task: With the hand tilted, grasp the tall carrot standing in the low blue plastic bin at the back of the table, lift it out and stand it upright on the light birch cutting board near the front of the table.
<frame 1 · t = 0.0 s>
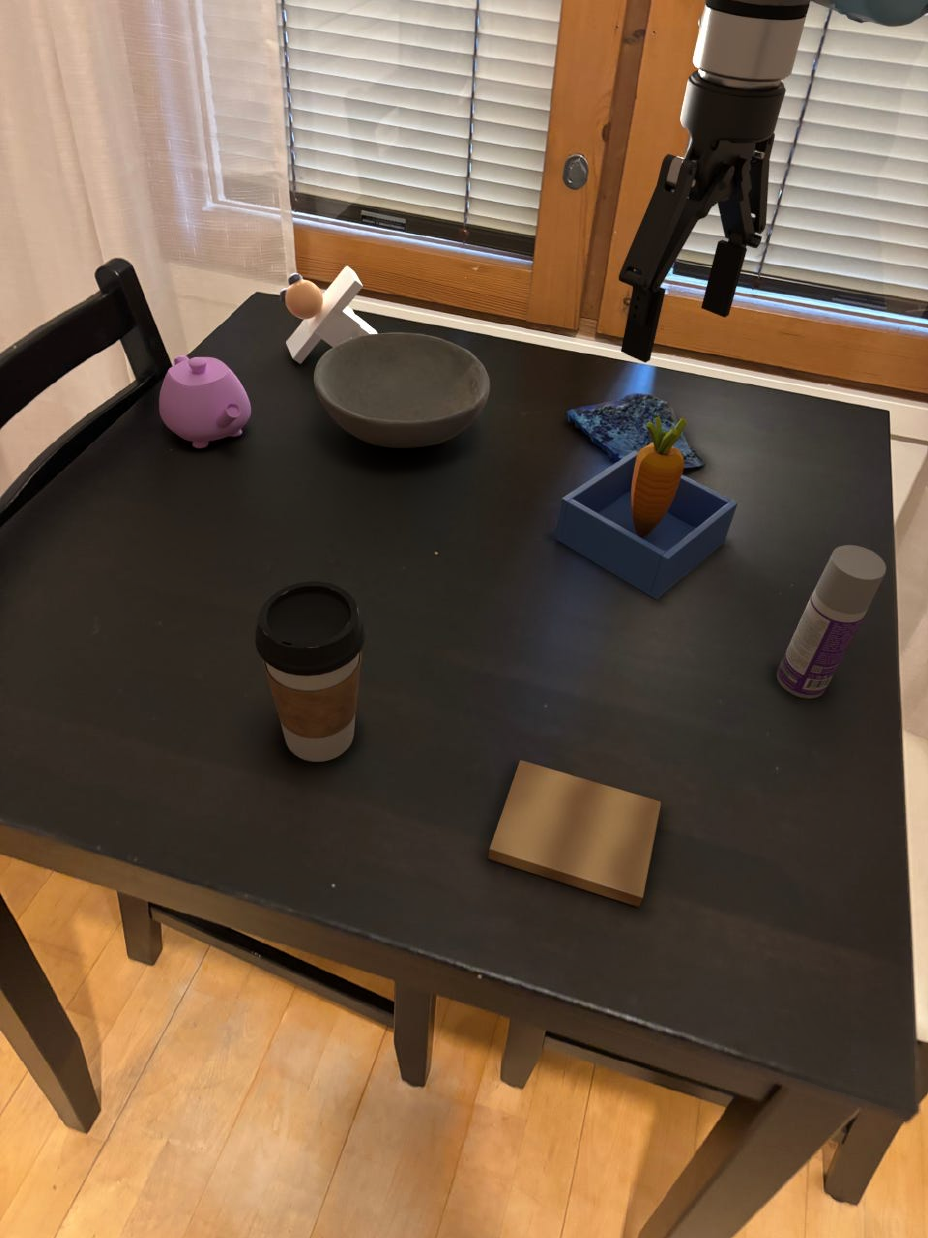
hand: (676, 333, 83), 24 cm above the table, tool pointing down, fingers open, 13 cm apart
container: (800, 681, 85), on the table
carrot: (640, 538, 98), resting in bin
teapot: (212, 434, 109), on the table
figurine: (334, 351, 125), on the table
board: (575, 834, 71), on the table
blue flat piece: (638, 440, 113), on the table
bin: (640, 540, 98), on the table
bowl: (402, 430, 112), on the table
coffee cup: (319, 736, 77), on the table
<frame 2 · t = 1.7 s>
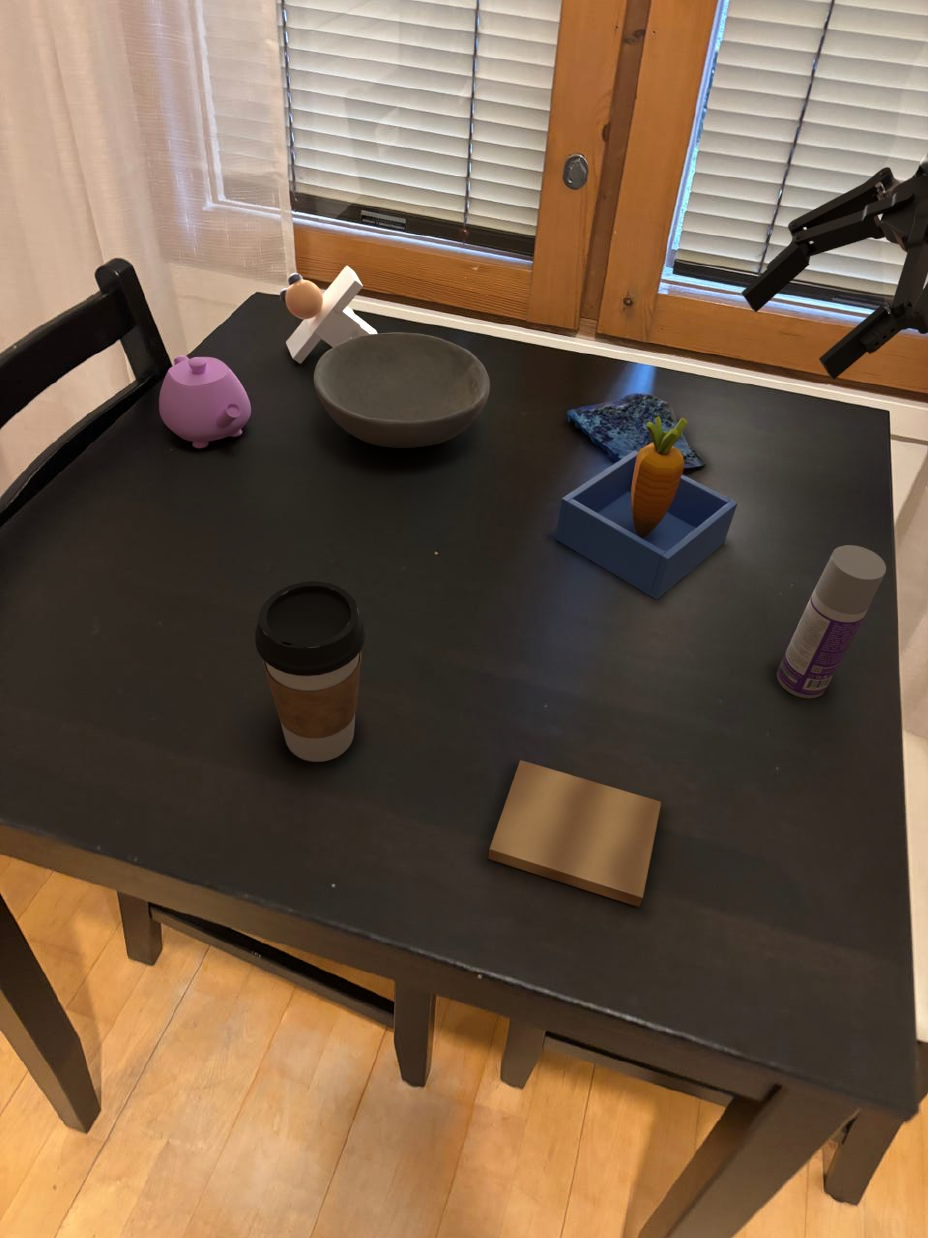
hand: (784, 334, 84), 24 cm above the table, tool tilted 45°, fingers open, 13 cm apart
nothing on the table moved.
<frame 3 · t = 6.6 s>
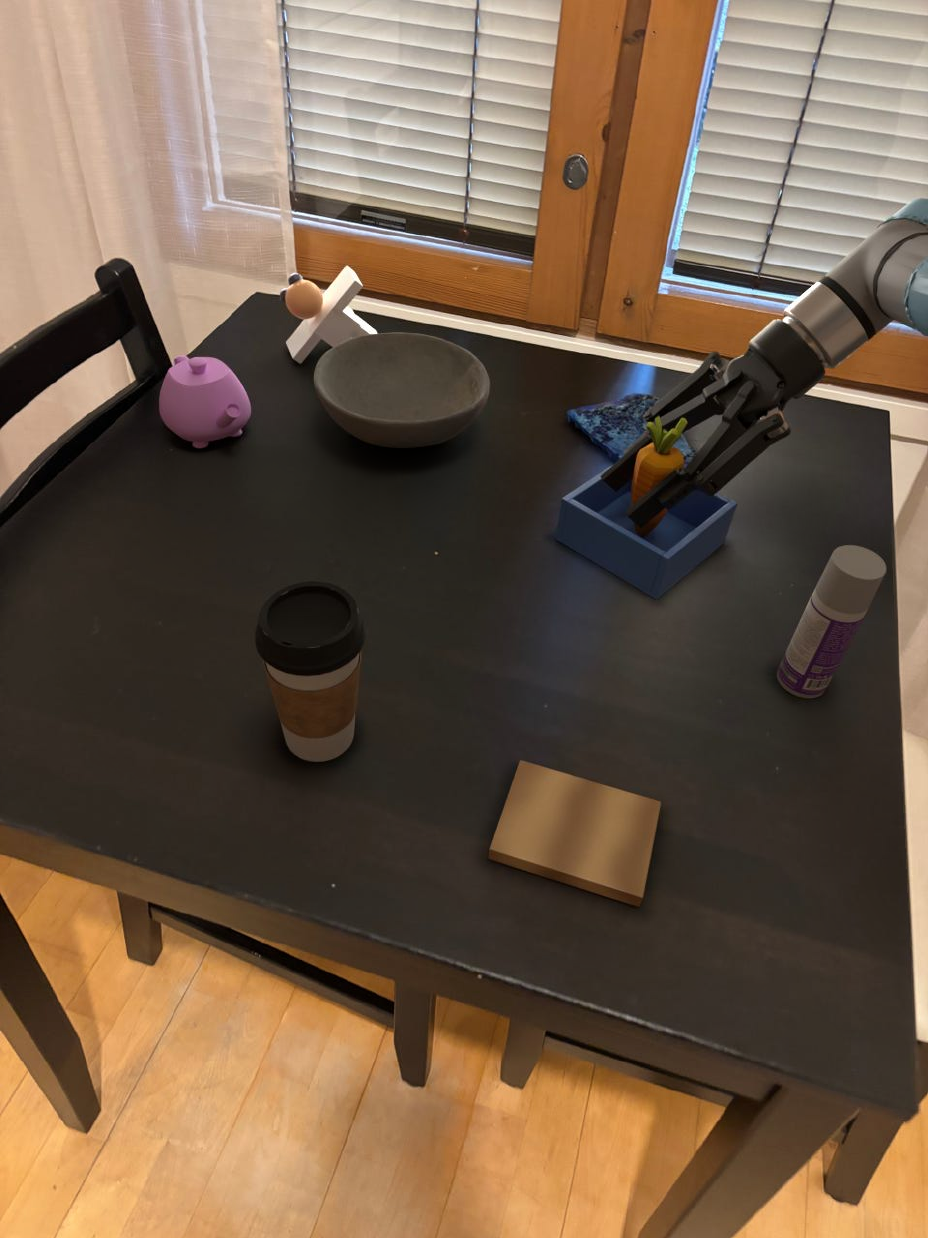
hand: (620, 501, 93), 6 cm above the table, tool tilted 45°, fingers open, 6 cm apart
nothing on the table moved.
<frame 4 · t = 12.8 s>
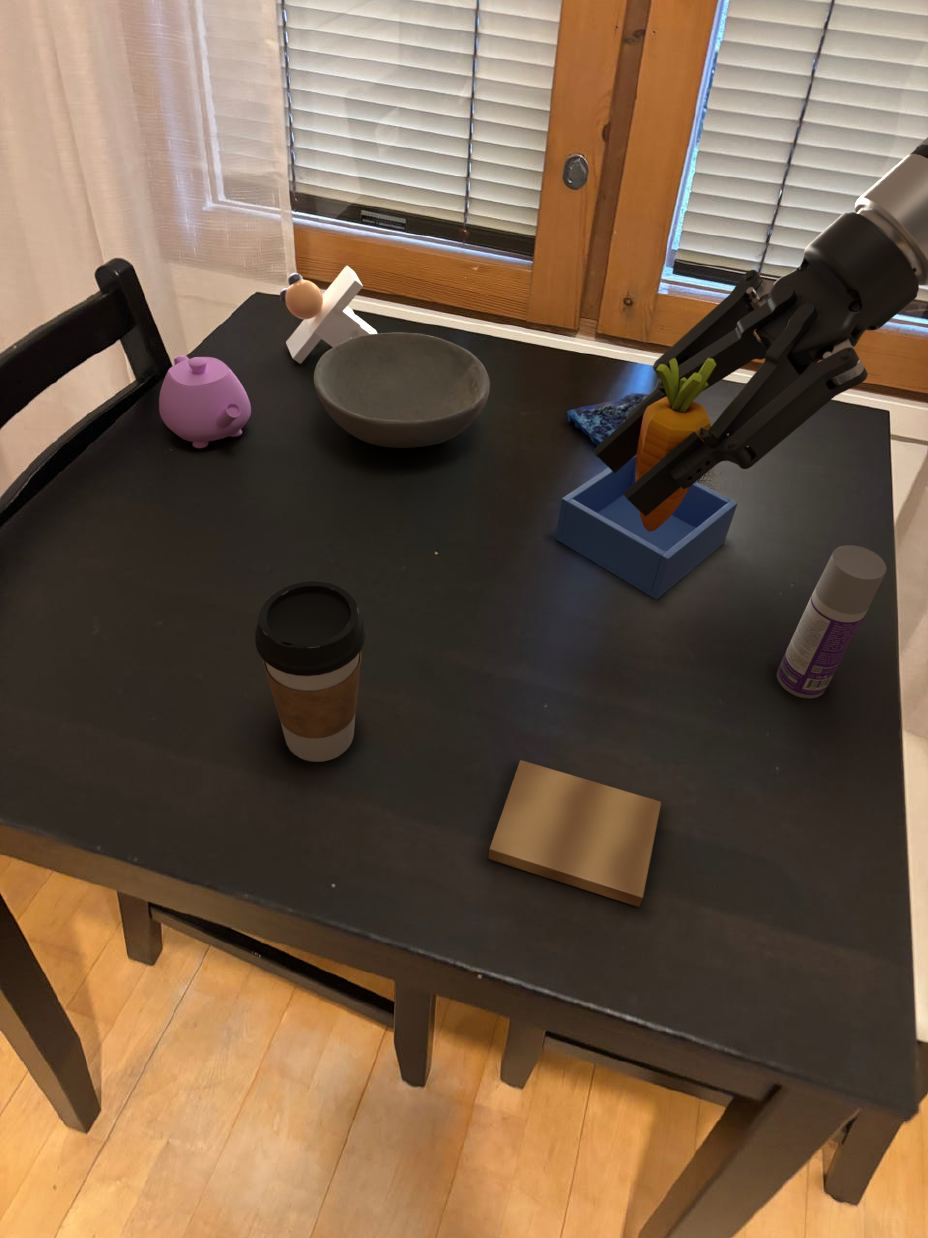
hand: (619, 482, 67), 23 cm above the table, tool tilted 45°, fingers closed on carrot, 5 cm apart
carrot: (648, 532, 71), point 17 cm above the table, touching gripper
everything else where it was.
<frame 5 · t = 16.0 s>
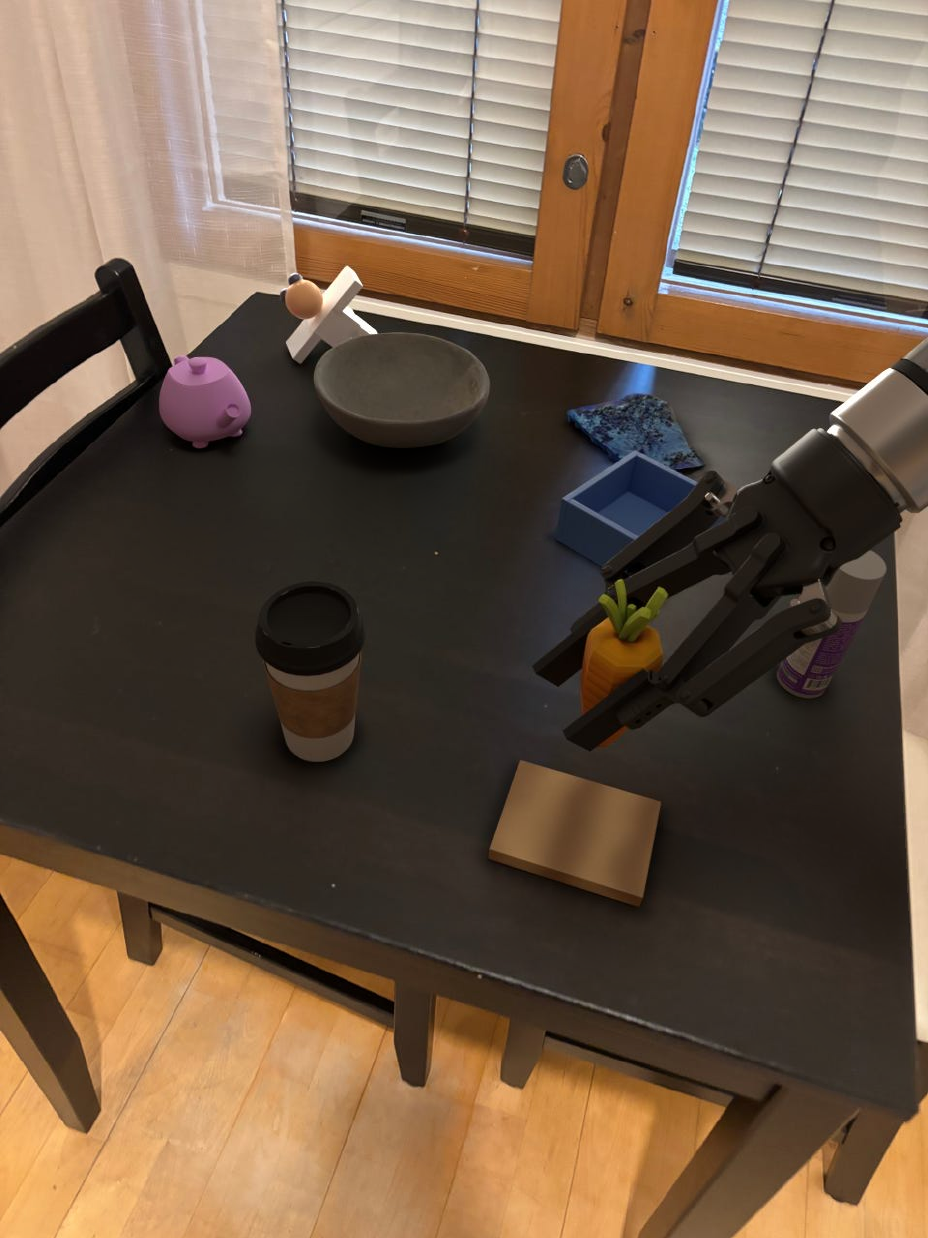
hand: (560, 707, 58), 17 cm above the table, tool tilted 45°, fingers closed on carrot, 5 cm apart
carrot: (598, 746, 63), point 12 cm above the table, touching gripper
everything else where it was.
when the fingers open (7 cm above the table, at t = 18.6 s): carrot stays where it is, resting on board.
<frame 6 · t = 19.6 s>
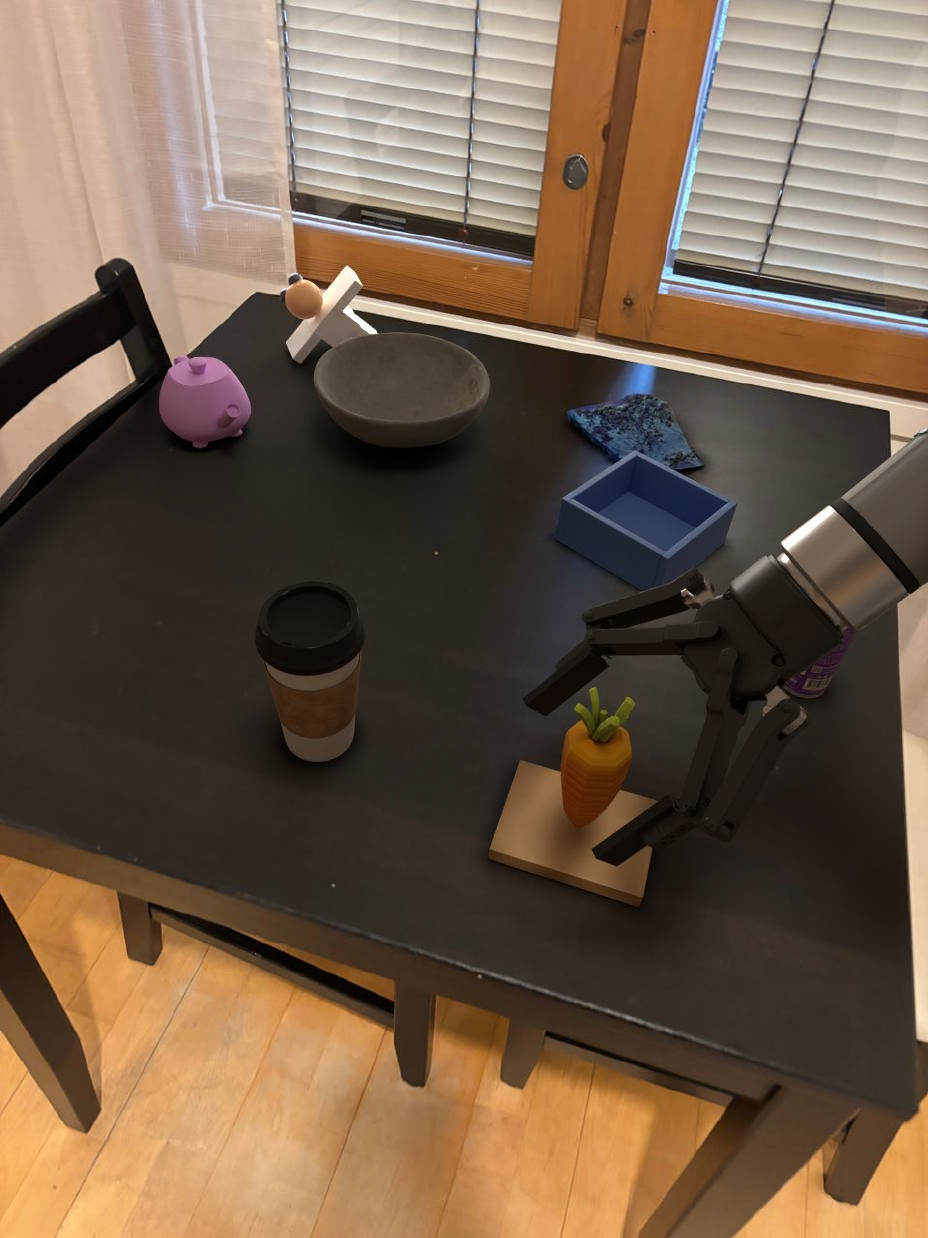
hand: (566, 777, 64), 9 cm above the table, tool tilted 45°, fingers open, 13 cm apart
carrot: (577, 825, 70), point 1 cm above the table, touching board
everything else where it was.
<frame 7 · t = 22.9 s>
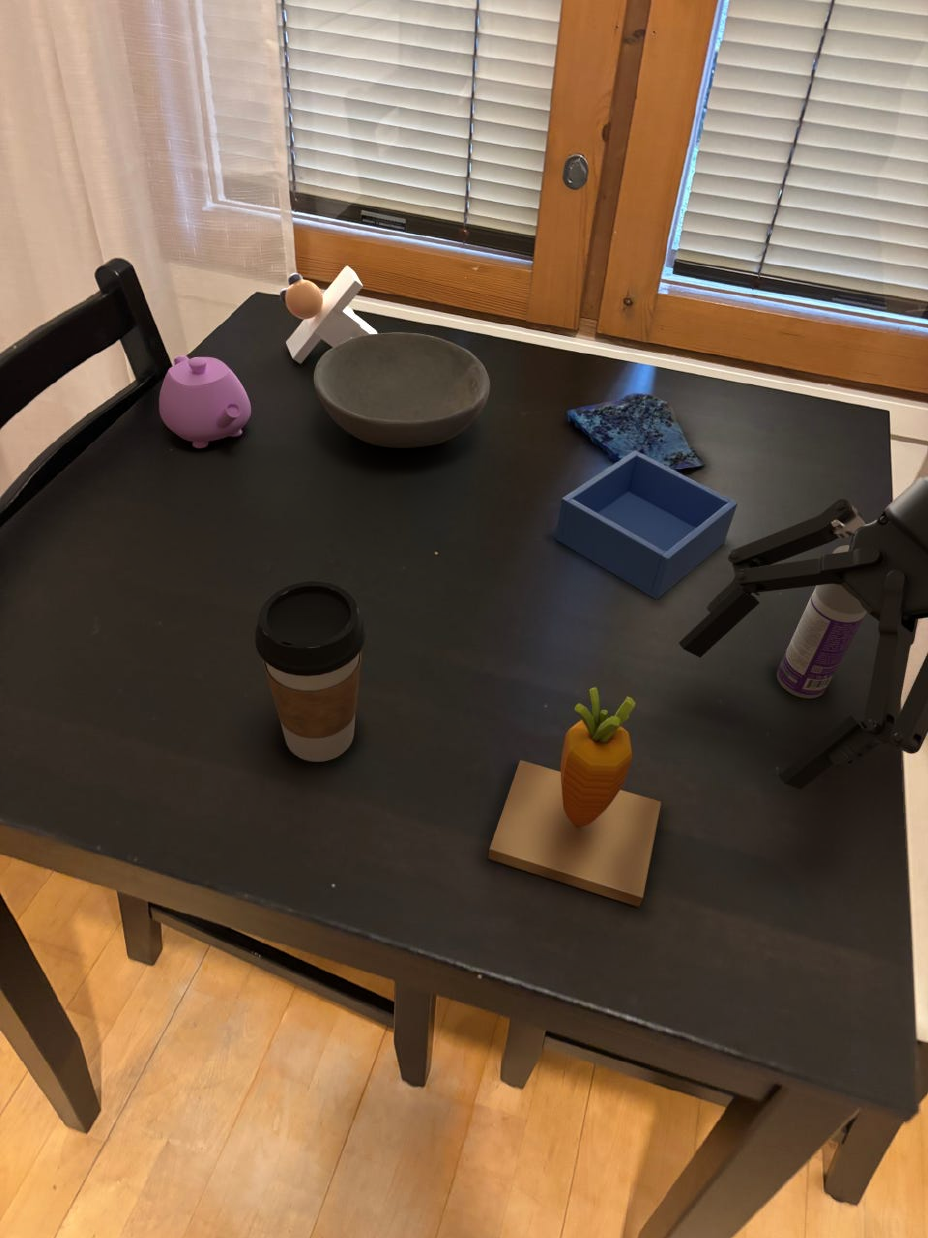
hand: (735, 712, 67), 11 cm above the table, tool tilted 40°, fingers open, 13 cm apart
nothing on the table moved.
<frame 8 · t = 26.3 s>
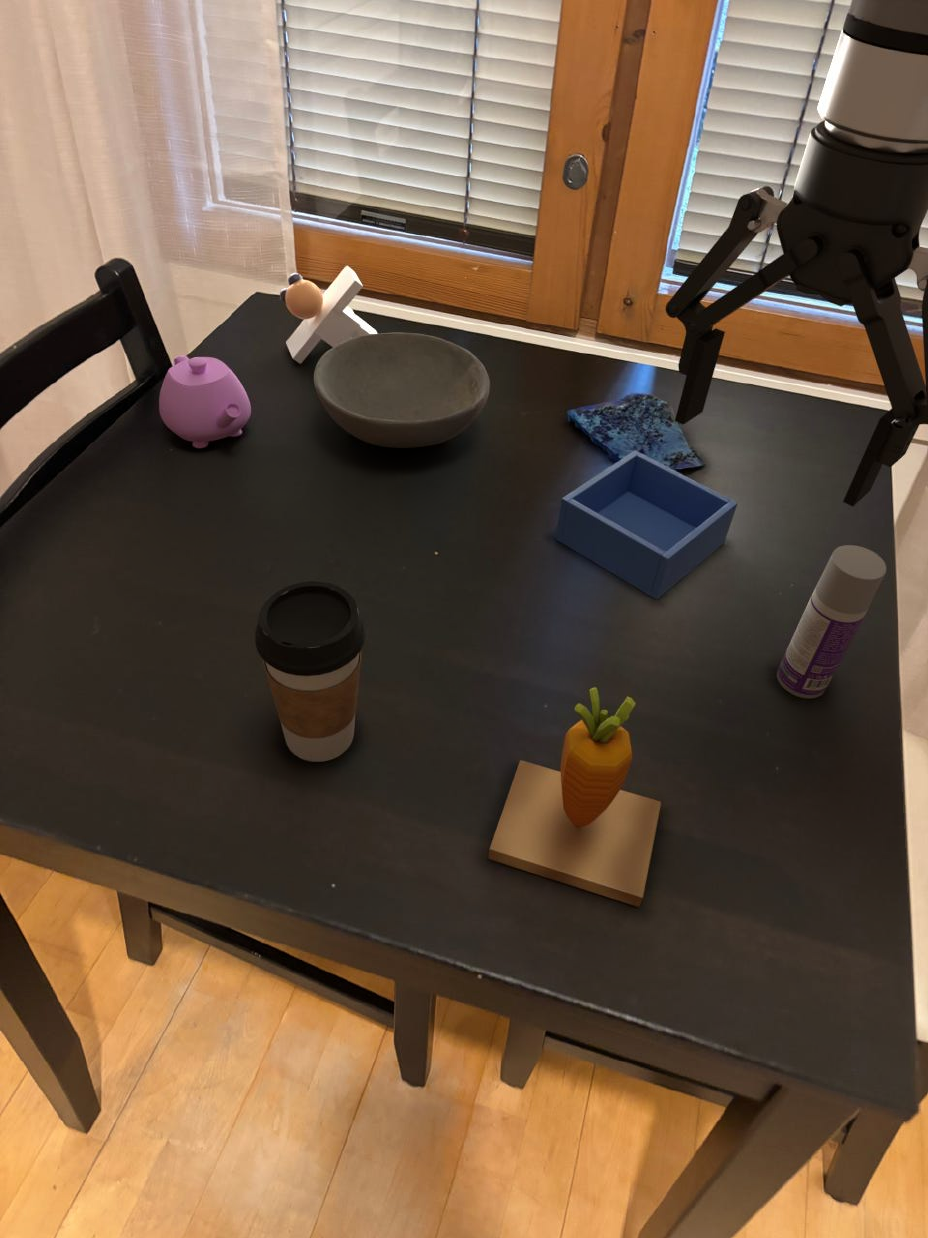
hand: (768, 454, 64), 27 cm above the table, tool pointing down, fingers open, 13 cm apart
nothing on the table moved.
at the end: carrot inside the target area on the board (0.0 cm from its centre), point 1.3 cm above the board's base; carrot tilted 0°; the gripper is holding nothing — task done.
